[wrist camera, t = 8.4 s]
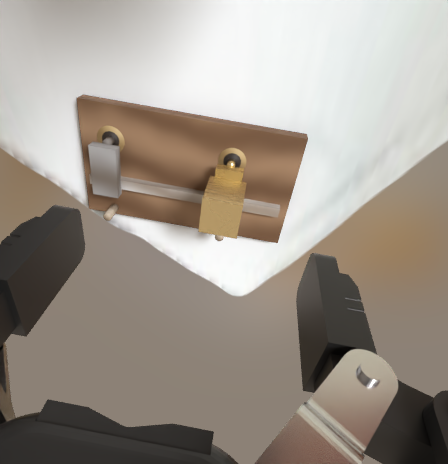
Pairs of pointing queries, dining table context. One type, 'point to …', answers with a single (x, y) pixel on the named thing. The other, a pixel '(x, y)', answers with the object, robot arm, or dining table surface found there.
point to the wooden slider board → (184, 164)
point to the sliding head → (223, 201)
